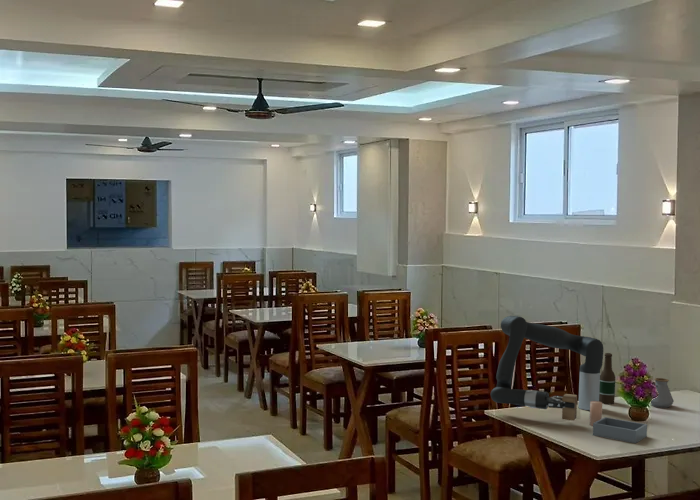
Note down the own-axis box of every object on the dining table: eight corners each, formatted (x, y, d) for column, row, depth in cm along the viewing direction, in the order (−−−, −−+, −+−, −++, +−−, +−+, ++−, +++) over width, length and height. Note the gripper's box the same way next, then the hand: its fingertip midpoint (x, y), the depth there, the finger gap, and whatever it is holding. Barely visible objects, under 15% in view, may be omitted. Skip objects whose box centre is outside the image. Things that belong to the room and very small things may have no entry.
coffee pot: (660, 402, 401) (661, 371, 401) (678, 407, 391) (680, 376, 390) (627, 405, 392) (628, 374, 391) (645, 411, 382) (646, 379, 381)
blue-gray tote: (604, 428, 349) (605, 417, 348) (646, 436, 338) (647, 424, 338) (592, 435, 338) (593, 423, 337) (635, 443, 327) (636, 431, 327)
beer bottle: (617, 402, 398) (619, 353, 397) (610, 405, 393) (612, 355, 391) (602, 399, 403) (604, 351, 402) (595, 402, 398) (597, 353, 397)
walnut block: (564, 416, 357) (565, 393, 356) (576, 417, 354) (577, 395, 354) (562, 419, 352) (562, 396, 352) (573, 420, 350) (574, 397, 349)
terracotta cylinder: (592, 423, 358) (592, 400, 357) (603, 425, 355) (604, 402, 354) (587, 425, 354) (588, 402, 353) (599, 427, 351) (599, 404, 350)
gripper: (532, 394, 353) (572, 399, 345) (541, 387, 366) (579, 392, 358) (532, 411, 353) (572, 416, 346) (540, 404, 366) (579, 409, 358)
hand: (575, 404), depth 352 cm, fingers closed on walnut block, 5 cm apart
